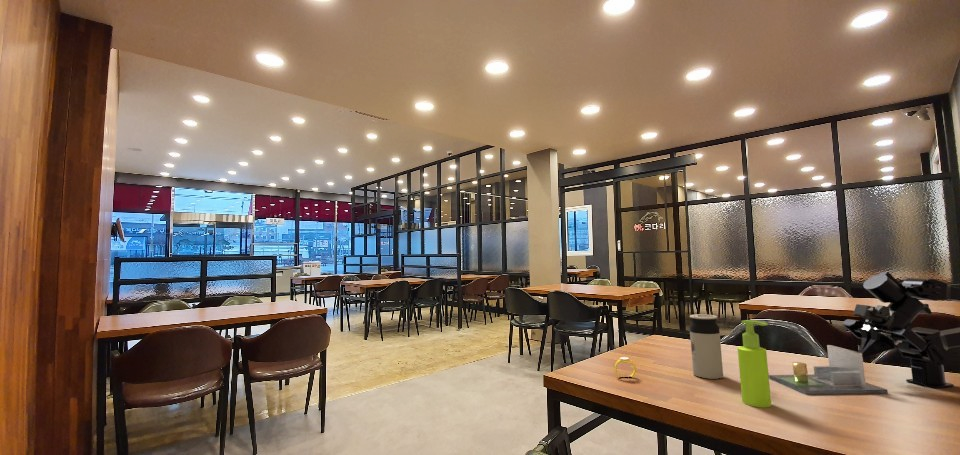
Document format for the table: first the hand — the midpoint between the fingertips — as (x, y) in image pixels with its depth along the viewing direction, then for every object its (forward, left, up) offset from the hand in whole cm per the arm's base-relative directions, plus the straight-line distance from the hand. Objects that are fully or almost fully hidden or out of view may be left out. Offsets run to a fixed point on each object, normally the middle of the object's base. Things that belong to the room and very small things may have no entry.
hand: (860, 356), depth 108 cm
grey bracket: (+7, -2, -6) cm, 9 cm away
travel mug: (+32, -20, -8) cm, 38 cm away
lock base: (+10, -3, -8) cm, 13 cm away
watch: (+56, -26, -8) cm, 62 cm away
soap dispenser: (+38, +3, -8) cm, 39 cm away
